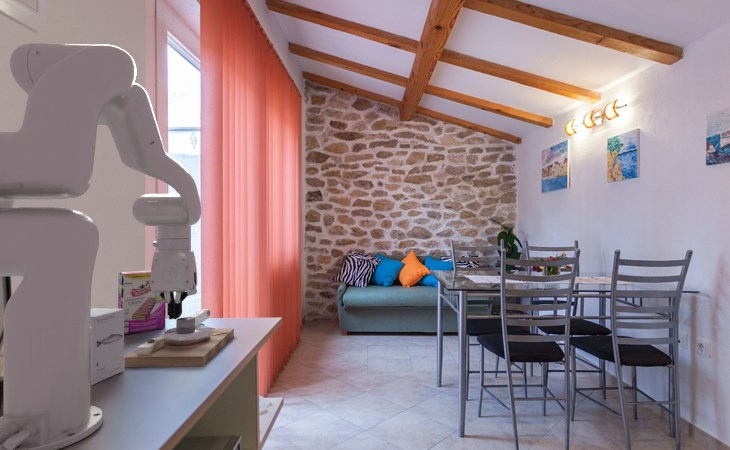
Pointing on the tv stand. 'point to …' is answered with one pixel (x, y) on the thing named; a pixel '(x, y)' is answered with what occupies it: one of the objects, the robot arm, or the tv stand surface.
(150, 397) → the tv stand surface
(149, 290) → the candy bar box
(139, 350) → the wooden cutting board
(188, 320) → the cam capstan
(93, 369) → the supplement box
